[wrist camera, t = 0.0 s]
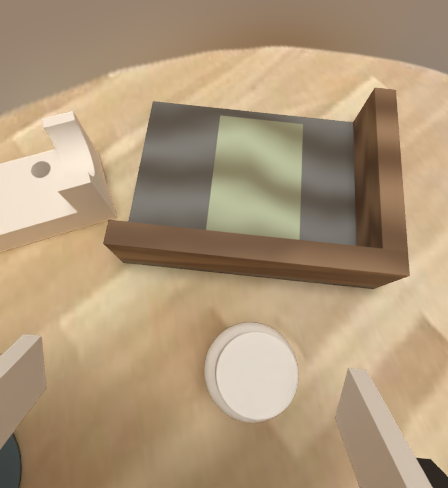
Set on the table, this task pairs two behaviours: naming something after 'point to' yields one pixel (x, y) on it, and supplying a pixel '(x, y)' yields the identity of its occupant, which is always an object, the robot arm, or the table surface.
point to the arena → (270, 195)
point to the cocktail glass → (10, 464)
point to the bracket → (53, 187)
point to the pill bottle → (251, 372)
